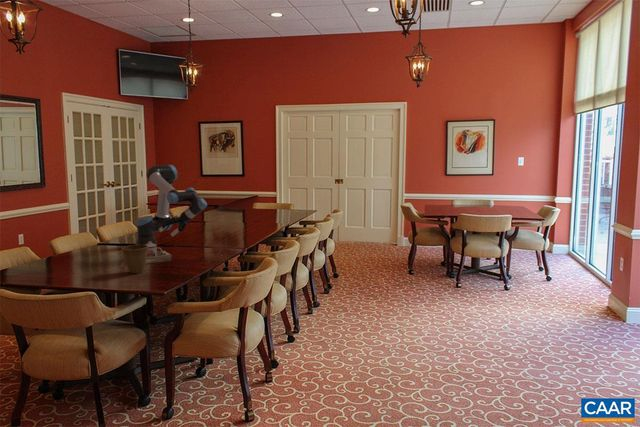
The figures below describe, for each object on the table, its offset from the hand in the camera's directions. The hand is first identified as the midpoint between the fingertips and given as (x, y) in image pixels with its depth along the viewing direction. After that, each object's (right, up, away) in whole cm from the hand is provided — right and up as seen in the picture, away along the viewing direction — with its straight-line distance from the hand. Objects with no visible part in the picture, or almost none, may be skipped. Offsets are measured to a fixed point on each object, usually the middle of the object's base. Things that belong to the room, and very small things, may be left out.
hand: (165, 233), depth 353 cm
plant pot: (-3, -23, -47) cm, 53 cm away
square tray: (-4, -18, -16) cm, 24 cm away
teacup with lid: (-3, -17, -17) cm, 24 cm away
